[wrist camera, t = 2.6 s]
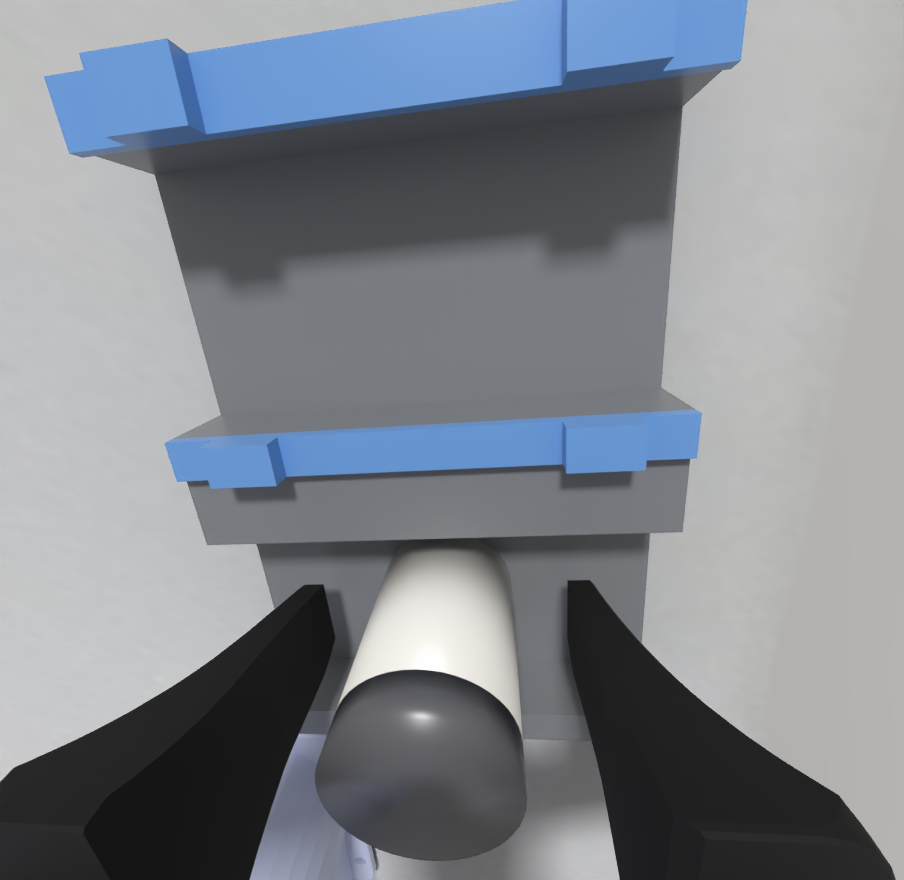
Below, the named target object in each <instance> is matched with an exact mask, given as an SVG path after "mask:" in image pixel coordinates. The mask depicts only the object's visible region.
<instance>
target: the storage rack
mask: <svg viewBox="0 0 904 880" xmlns="http://www.w3.org/2000/svg"><path fill="white" fill-rule="evenodd" d="M746 8H747V0H516V1H510V2H504V3H498V4H491V5H485V6H479V7H473V8H466V9H460V10H454V11H448V12H442V13H435V14H429V15H423V16H417V17H411V18H404V19H398V20H392V21H386V22H380V23H373V24H367V25H361V26H355V27H349V28H342V29H336V30H330V31H324V32H318V33H311V34H305V35H299V36H293V37H286V38H280V39H274V40H268V41H262V42H255V43H249V44H243V45H237V46H231V47H224V48H218V49H212V50H206V51H200V52H193V53H186V52H184V51H183V50H182V49H180V48H179V47H178V46H176V45H175V44H174V43H172V42H171V41H170V40H168V39H162V40H156V41H150V42H144V43H138V44H132V45H126V46H120V47H114V48H108V49H102V50H96V51H89V52H83V53H79V55H80V58H81V61H82V64H83V68H84V70H82V71H75V72H69V73H63V74H57V75H51V76H44V78H45V81H46V84H47V87H48V90H49V93H50V96H51V99H52V102H53V105H54V108H55V112H56V115H57V118H58V121H59V124H60V127H61V130H62V133H63V136H64V139H65V142H66V145H67V148H68V151H69V153H70V154H73V155H76V156H80V157H90V156H97V157H100V158H103V159H106V160H110V161H113V162H116V163H119V164H122V165H126V166H129V167H132V168H135V169H138V170H142V171H145V172H148V173H151V174H154V175H155V177H156V180H157V184H158V188H159V191H160V195H161V199H162V202H163V206H164V209H165V213H166V217H167V220H168V224H169V228H170V231H171V235H172V238H173V242H174V246H175V249H176V253H177V257H178V260H179V264H180V267H181V271H182V275H183V278H184V282H185V286H186V289H187V293H188V296H189V300H190V304H191V307H192V311H193V315H194V318H195V322H196V325H197V329H198V333H199V336H200V340H201V344H202V347H203V351H204V354H205V358H206V362H207V365H208V369H209V373H210V376H211V380H212V383H213V387H214V391H215V394H216V398H217V402H218V405H219V409H220V413H221V415H220V416H218V417H216V418H214V419H212V420H210V421H208V422H206V423H204V424H202V425H200V426H198V427H196V428H194V429H192V430H190V431H188V432H186V433H184V434H182V435H180V436H178V437H176V438H174V439H172V440H170V441H168V442H166V443H165V446H166V449H167V452H168V455H169V458H170V461H171V464H172V467H173V470H174V473H175V477H176V480H177V482H181V481H187V483H188V486H189V490H190V493H191V496H192V499H193V502H194V505H195V508H196V511H197V515H198V518H199V521H200V524H201V527H202V530H203V533H204V536H205V540H206V543H207V545H228V544H257V547H258V550H259V554H260V558H261V561H262V565H263V568H264V572H265V576H266V579H267V583H268V587H269V590H270V594H271V597H272V601H273V605H274V608H275V609H276V608H277V607H278V606H279V605H280V604H281V603H283V602H284V601H285V600H286V599H287V598H289V597H290V596H291V595H292V594H293V593H295V592H296V591H297V590H298V589H299V588H301V587H302V586H303V585H314V584H324V588H325V593H326V597H327V602H328V606H329V611H330V615H331V620H332V624H333V629H334V633H335V637H336V638H335V642H334V645H333V649H332V653H331V656H330V659H329V663H328V666H327V669H326V672H325V675H324V677H323V679H322V682H321V684H320V687H319V689H318V691H317V694H316V696H315V698H314V700H313V703H312V705H311V707H310V710H309V712H308V714H307V716H306V719H305V721H304V723H303V726H302V728H301V730H300V732H299V734H328V731H329V729H330V726H331V723H332V720H333V717H334V715H335V712H336V709H337V706H338V704H339V701H340V698H341V695H342V693H343V690H344V687H345V684H346V682H347V679H348V676H349V673H350V671H351V668H352V665H353V662H354V660H355V657H356V654H357V651H358V648H359V646H360V643H361V640H362V637H363V635H364V632H365V629H366V626H367V624H368V621H369V618H370V615H371V613H372V610H373V607H374V604H375V602H376V599H377V596H378V593H379V591H380V588H381V585H382V582H383V579H384V577H385V574H386V571H387V568H388V566H389V563H390V561H391V559H392V557H393V556H394V554H395V553H396V552H397V550H398V549H399V548H400V547H401V546H402V545H404V544H405V543H406V542H408V541H409V540H411V539H447V538H478V539H480V540H482V541H484V542H486V543H487V544H488V545H490V546H491V547H492V548H493V549H495V550H496V551H497V552H498V553H499V555H500V556H501V557H502V558H503V560H504V561H505V563H506V564H507V567H508V569H509V571H510V575H511V579H512V588H513V603H514V618H515V633H516V648H517V663H518V678H519V693H520V708H521V723H522V738H523V739H551V740H591V736H590V733H589V729H588V726H587V722H586V718H585V715H584V711H583V708H582V704H581V700H580V697H579V693H578V689H577V686H576V682H575V678H574V675H573V669H572V664H571V658H570V651H569V645H568V639H567V580H590V581H591V582H592V583H593V584H594V585H595V587H596V588H597V589H598V591H599V592H600V594H601V595H602V596H603V598H604V599H605V600H606V602H607V603H608V604H609V606H610V607H611V608H612V609H613V611H614V612H615V613H616V614H617V616H618V617H619V618H620V619H621V621H622V622H623V623H624V624H625V625H626V626H627V628H628V629H629V630H630V631H631V632H632V633H633V635H634V636H635V637H636V638H637V639H638V640H639V641H640V642H641V643H642V630H643V617H644V604H645V591H646V577H647V564H648V551H649V538H650V533H665V532H682V531H683V521H684V512H685V502H686V493H687V483H688V474H689V464H690V459H693V458H697V451H698V442H699V433H700V424H701V415H702V413H700V412H699V411H697V410H695V409H694V408H692V407H691V406H689V405H688V404H686V403H684V402H683V401H681V400H680V399H678V398H677V397H675V396H673V395H672V394H670V393H669V392H667V391H666V390H664V389H662V388H661V381H662V368H663V355H664V342H665V329H666V316H667V303H668V290H669V277H670V264H671V250H672V237H673V224H674V211H675V198H676V185H677V172H678V159H679V146H680V133H681V120H682V107H683V106H684V105H685V104H686V103H687V102H688V101H689V100H690V99H691V98H692V97H693V96H695V95H696V94H697V93H698V92H699V91H700V90H701V89H702V88H703V87H704V86H706V85H707V84H708V83H709V82H710V81H711V80H712V79H713V78H714V77H715V76H716V75H718V74H719V73H720V72H721V71H722V70H727V69H732V68H733V67H734V66H735V65H736V64H737V63H738V62H739V61H741V53H742V44H743V35H744V26H745V17H746Z"/></svg>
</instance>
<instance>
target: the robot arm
mask: <svg viewBox="0 0 904 880" xmlns="http://www.w3.org/2000/svg"><path fill="white" fill-rule="evenodd" d="M335 638H336V637H335V633H334V629H333V624H332V620H331V615H330V611H329V606H328V602H327V597H326V593H325V588H324V584H314V585H303V586H302V587H301V588H299V589H298V590H297V591H296V592H295V593H293V594H292V595H291V596H290V597H289V598H287V599H286V600H285V601H284V602H283V603H281V604H280V605H279V606H278V607H277V608H276V609H274V610H273V611H272V612H271V613H270V614H269V615H267V616H266V617H265V618H264V619H263V620H261V621H260V622H259V623H258V624H257V625H255V626H254V627H253V628H252V629H251V630H250V631H248V632H247V633H246V634H245V635H243V636H242V637H241V638H239V639H238V640H237V641H236V642H234V643H233V644H232V645H230V646H229V647H228V648H227V649H225V650H224V651H223V652H221V653H220V654H219V655H218V656H216V657H215V658H214V659H212V660H211V661H209V662H208V663H207V664H205V665H204V666H202V667H201V668H200V669H198V670H197V671H195V672H194V673H192V674H191V675H189V676H188V677H186V678H185V679H183V680H182V681H180V682H179V683H177V684H176V685H174V686H172V687H171V688H169V689H168V690H166V691H164V692H163V693H161V694H159V695H158V696H156V697H154V698H153V699H151V700H149V701H147V702H146V703H144V704H142V705H141V706H139V707H137V708H136V709H134V710H132V711H130V712H129V713H127V714H125V715H123V716H121V717H119V718H118V719H116V720H114V721H112V722H110V723H108V724H106V725H104V726H102V727H101V728H99V729H97V730H95V731H93V732H91V733H89V734H87V735H85V736H83V737H81V738H79V739H77V740H75V741H72V742H70V743H68V744H66V745H64V746H62V747H59V748H57V749H55V750H53V751H51V752H48V753H46V754H44V755H42V756H40V757H37V758H35V759H33V760H31V761H29V762H26V763H24V764H22V765H19V766H17V767H15V768H13V769H12V770H11V771H10V772H9V774H8V775H7V776H6V777H5V778H4V779H3V780H2V781H1V782H0V880H353V879H355V880H370V879H372V878H373V877H374V875H375V870H376V863H375V859H374V855H373V851H372V846H370V845H368V844H366V843H364V842H363V841H361V840H359V839H357V838H356V837H354V836H353V835H351V834H350V833H348V832H347V831H346V830H344V829H343V828H342V827H341V826H340V825H338V823H337V822H336V821H335V820H334V819H333V818H332V817H331V816H330V815H329V813H328V812H327V811H326V810H325V808H324V806H323V804H322V803H321V801H320V799H319V796H318V793H317V790H316V785H315V770H316V765H317V762H318V759H319V756H320V753H321V751H322V748H323V745H324V742H325V740H326V737H327V734H299V732H300V730H301V728H302V726H303V723H304V721H305V719H306V716H307V714H308V712H309V710H310V707H311V705H312V703H313V700H314V698H315V696H316V694H317V691H318V689H319V687H320V684H321V682H322V679H323V677H324V675H325V672H326V669H327V666H328V663H329V659H330V656H331V653H332V649H333V645H334V642H335ZM567 639H568V645H569V651H570V658H571V664H572V669H573V675H574V678H575V682H576V686H577V689H578V693H579V697H580V700H581V704H582V708H583V711H584V715H585V718H586V722H587V726H588V729H589V733H590V736H591V740H592V744H593V747H594V751H595V755H596V758H597V762H598V767H599V771H600V775H601V779H602V785H603V790H604V795H605V800H606V806H607V811H608V816H609V822H610V827H611V833H612V838H613V844H614V849H615V855H616V860H617V866H618V871H619V877H620V880H895V876H894V873H893V871H892V867H891V866H890V864H889V863H888V861H887V860H886V859H885V857H884V856H883V854H882V853H881V851H880V850H879V848H878V847H877V845H876V844H875V842H874V841H873V840H872V838H871V837H870V835H869V834H868V833H867V831H866V830H865V829H864V827H863V826H862V824H861V823H860V822H859V821H858V819H857V818H856V817H855V815H854V814H853V813H852V812H851V811H850V809H849V808H848V807H847V806H846V805H845V803H844V802H843V800H842V799H841V798H840V796H839V795H837V794H835V793H834V792H832V791H831V790H829V789H828V788H826V787H824V786H823V785H821V784H819V783H818V782H816V781H815V780H813V779H811V778H809V777H808V776H807V775H805V774H803V773H802V772H800V771H798V770H797V769H795V768H793V767H792V766H790V765H789V764H787V763H786V762H784V761H782V760H781V759H779V758H778V757H776V756H775V755H773V754H772V753H771V752H769V751H768V750H766V749H765V748H763V747H762V746H760V745H759V744H758V743H756V742H755V741H753V740H752V739H750V738H749V737H747V736H746V735H745V734H743V733H742V732H741V731H739V730H738V729H737V728H735V727H734V726H733V725H731V724H730V723H729V722H728V721H726V720H725V719H724V718H722V717H721V716H720V715H719V714H717V713H716V712H715V711H713V710H712V709H711V708H710V707H708V706H707V705H706V704H704V703H703V702H702V701H701V700H700V699H699V698H697V697H696V696H695V695H694V694H693V693H692V692H690V691H689V690H688V689H687V688H686V687H685V686H684V685H683V684H682V683H680V682H679V681H678V680H677V679H676V678H675V677H674V676H673V675H672V674H671V673H670V672H669V671H668V670H667V669H666V668H665V667H664V666H663V665H662V664H661V663H660V662H659V661H658V660H657V659H656V658H655V657H654V656H653V655H652V654H651V653H650V652H649V651H648V650H647V649H646V648H645V647H644V646H643V645H642V644H641V642H640V641H639V640H638V639H637V638H636V637H635V636H634V635H633V633H632V632H631V631H630V630H629V629H628V628H627V626H626V625H625V624H624V623H623V622H622V621H621V619H620V618H619V617H618V616H617V614H616V613H615V612H614V611H613V609H612V608H611V607H610V606H609V604H608V603H607V602H606V600H605V599H604V598H603V596H602V595H601V594H600V592H599V591H598V589H597V588H596V587H595V585H594V584H593V583H592V582H591V581H590V580H567Z"/></svg>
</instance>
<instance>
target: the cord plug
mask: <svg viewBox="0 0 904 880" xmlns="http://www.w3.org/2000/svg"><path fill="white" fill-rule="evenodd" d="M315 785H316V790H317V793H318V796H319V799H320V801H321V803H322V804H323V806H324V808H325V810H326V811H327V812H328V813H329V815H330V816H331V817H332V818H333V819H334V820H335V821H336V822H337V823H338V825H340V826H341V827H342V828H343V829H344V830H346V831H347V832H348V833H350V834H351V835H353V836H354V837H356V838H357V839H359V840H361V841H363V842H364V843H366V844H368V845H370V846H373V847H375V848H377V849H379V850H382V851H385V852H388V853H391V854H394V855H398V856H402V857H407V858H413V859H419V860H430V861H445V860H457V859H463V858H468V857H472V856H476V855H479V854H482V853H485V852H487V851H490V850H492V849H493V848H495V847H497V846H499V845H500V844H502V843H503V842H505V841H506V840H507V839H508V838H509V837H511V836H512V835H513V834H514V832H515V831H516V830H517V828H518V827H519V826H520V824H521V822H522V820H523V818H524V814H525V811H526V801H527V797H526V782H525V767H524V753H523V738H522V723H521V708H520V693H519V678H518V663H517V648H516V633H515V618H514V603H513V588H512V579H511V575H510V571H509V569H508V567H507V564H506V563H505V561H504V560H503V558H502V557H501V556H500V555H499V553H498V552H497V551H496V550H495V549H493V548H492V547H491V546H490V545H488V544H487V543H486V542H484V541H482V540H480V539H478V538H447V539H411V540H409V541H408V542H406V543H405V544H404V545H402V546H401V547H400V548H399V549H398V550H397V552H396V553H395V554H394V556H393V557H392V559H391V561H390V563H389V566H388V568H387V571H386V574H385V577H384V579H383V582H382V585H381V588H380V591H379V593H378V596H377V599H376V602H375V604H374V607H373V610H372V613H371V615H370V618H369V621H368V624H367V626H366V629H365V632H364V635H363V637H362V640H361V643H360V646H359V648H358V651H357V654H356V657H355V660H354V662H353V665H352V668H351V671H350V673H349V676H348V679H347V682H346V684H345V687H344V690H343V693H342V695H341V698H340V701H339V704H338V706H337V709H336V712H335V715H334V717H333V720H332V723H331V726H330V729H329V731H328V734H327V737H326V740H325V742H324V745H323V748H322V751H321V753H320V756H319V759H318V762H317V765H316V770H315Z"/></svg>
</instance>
